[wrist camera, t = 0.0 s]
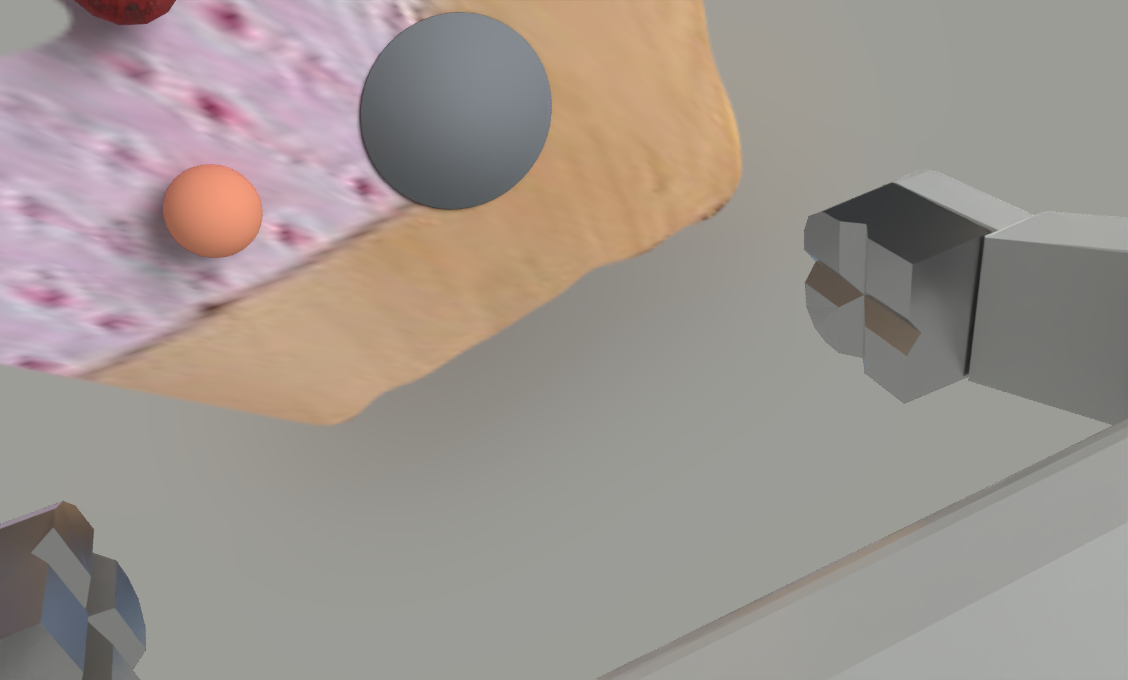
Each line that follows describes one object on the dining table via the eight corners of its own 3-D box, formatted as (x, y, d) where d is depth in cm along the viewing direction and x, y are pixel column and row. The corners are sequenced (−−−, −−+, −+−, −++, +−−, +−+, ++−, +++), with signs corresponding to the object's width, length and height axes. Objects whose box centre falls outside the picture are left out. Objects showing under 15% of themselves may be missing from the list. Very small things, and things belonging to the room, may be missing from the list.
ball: (146, 168, 52) (146, 201, 48) (237, 140, 53) (245, 169, 49) (185, 248, 55) (188, 285, 51) (270, 219, 56) (281, 254, 52)
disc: (332, 45, 53) (332, 46, 52) (529, -13, 55) (531, -12, 55) (394, 233, 60) (394, 234, 60) (565, 173, 63) (566, 174, 63)
